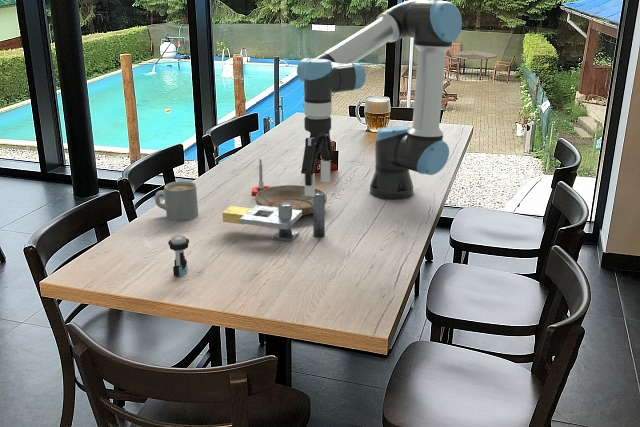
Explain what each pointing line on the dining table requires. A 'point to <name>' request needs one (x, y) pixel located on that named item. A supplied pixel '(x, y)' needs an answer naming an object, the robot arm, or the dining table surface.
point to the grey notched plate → (267, 218)
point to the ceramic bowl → (287, 197)
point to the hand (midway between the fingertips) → (317, 188)
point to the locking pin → (319, 215)
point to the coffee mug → (179, 200)
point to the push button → (179, 254)
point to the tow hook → (260, 187)
